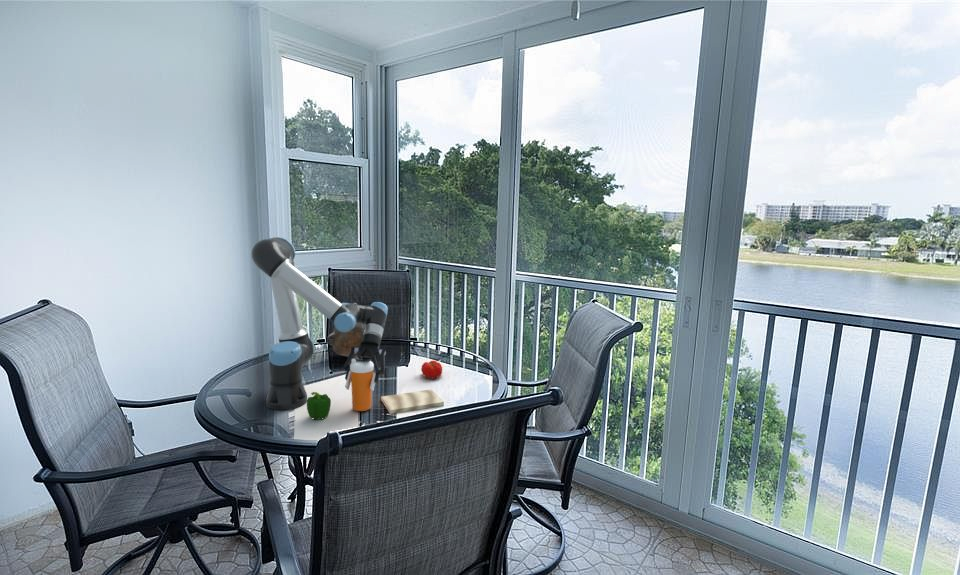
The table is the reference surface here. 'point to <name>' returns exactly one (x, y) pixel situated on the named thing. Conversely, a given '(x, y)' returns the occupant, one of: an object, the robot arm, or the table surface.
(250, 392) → the table surface
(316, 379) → the table surface
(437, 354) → the table surface
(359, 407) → the shaker bottle
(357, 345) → the jug
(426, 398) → the oak board
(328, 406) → the bell pepper
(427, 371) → the tomato
